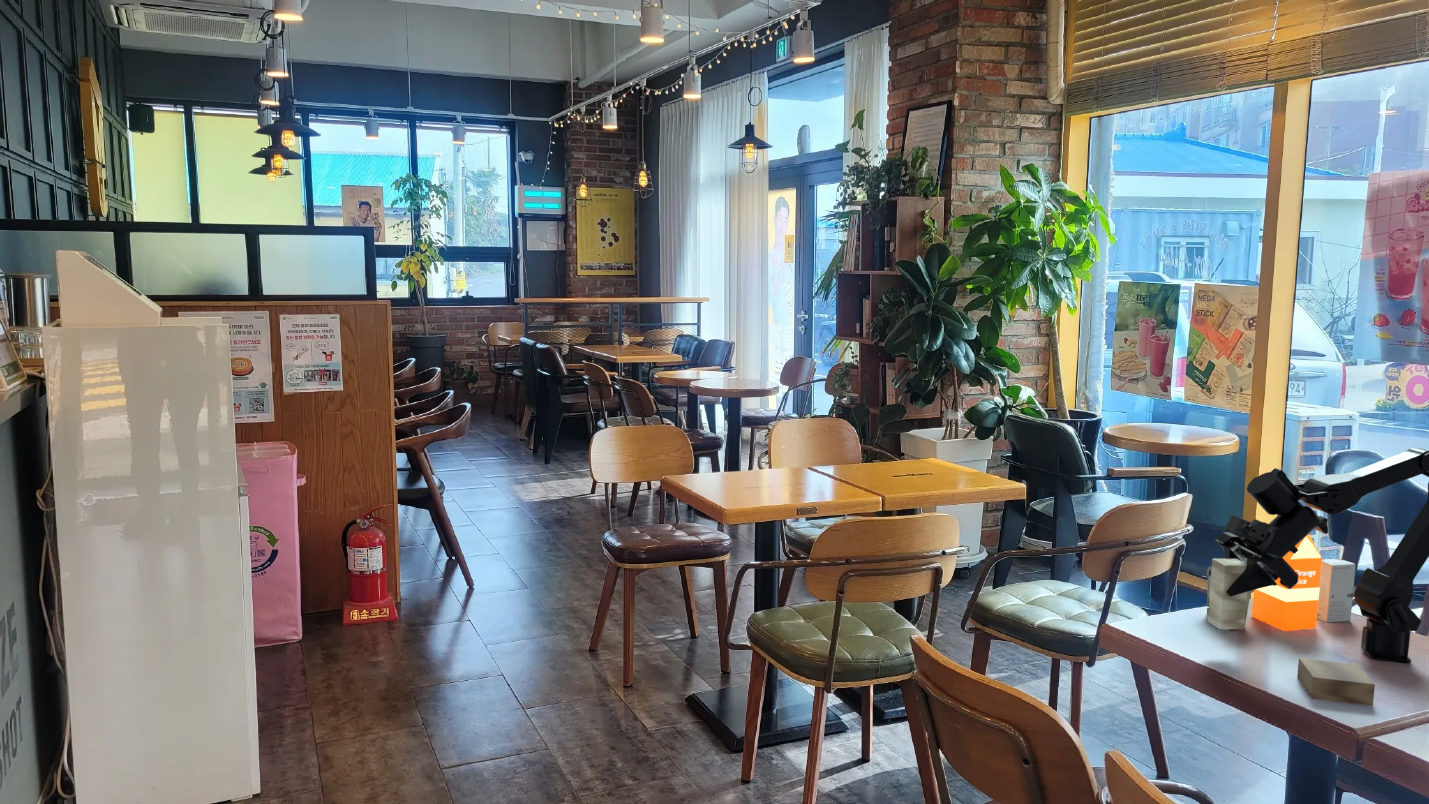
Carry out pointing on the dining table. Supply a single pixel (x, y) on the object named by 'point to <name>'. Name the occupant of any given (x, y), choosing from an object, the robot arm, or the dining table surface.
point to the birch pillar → (1226, 595)
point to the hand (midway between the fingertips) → (1221, 590)
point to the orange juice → (1293, 592)
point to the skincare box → (1336, 590)
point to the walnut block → (1335, 681)
